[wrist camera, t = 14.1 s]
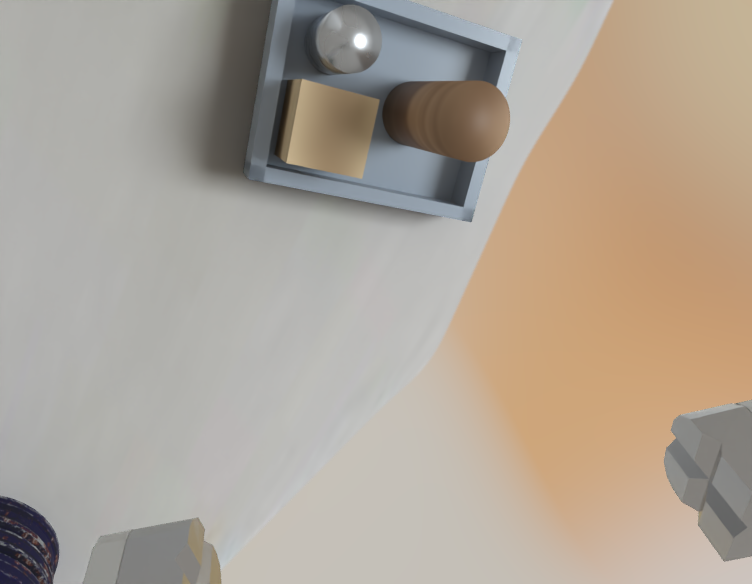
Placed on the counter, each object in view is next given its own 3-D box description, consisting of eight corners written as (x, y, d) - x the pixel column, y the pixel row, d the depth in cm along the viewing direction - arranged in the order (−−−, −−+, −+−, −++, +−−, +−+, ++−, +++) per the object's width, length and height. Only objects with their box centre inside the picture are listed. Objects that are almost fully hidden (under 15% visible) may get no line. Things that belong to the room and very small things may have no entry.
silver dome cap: (299, 66, 30) (315, 64, 27) (310, 6, 29) (328, -4, 26) (352, 81, 31) (374, 80, 28) (363, 23, 31) (388, 15, 27)
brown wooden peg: (376, 138, 33) (431, 153, 26) (390, 74, 32) (450, 71, 25) (431, 151, 34) (497, 168, 27) (446, 89, 33) (519, 91, 26)
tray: (243, 172, 32) (248, 179, 30) (277, -32, 29) (285, -42, 27) (452, 213, 37) (471, 222, 35) (499, 42, 34) (522, 39, 32)
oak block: (274, 154, 31) (286, 163, 28) (287, 79, 30) (302, 78, 27) (342, 168, 33) (362, 178, 29) (357, 98, 32) (379, 99, 28)
